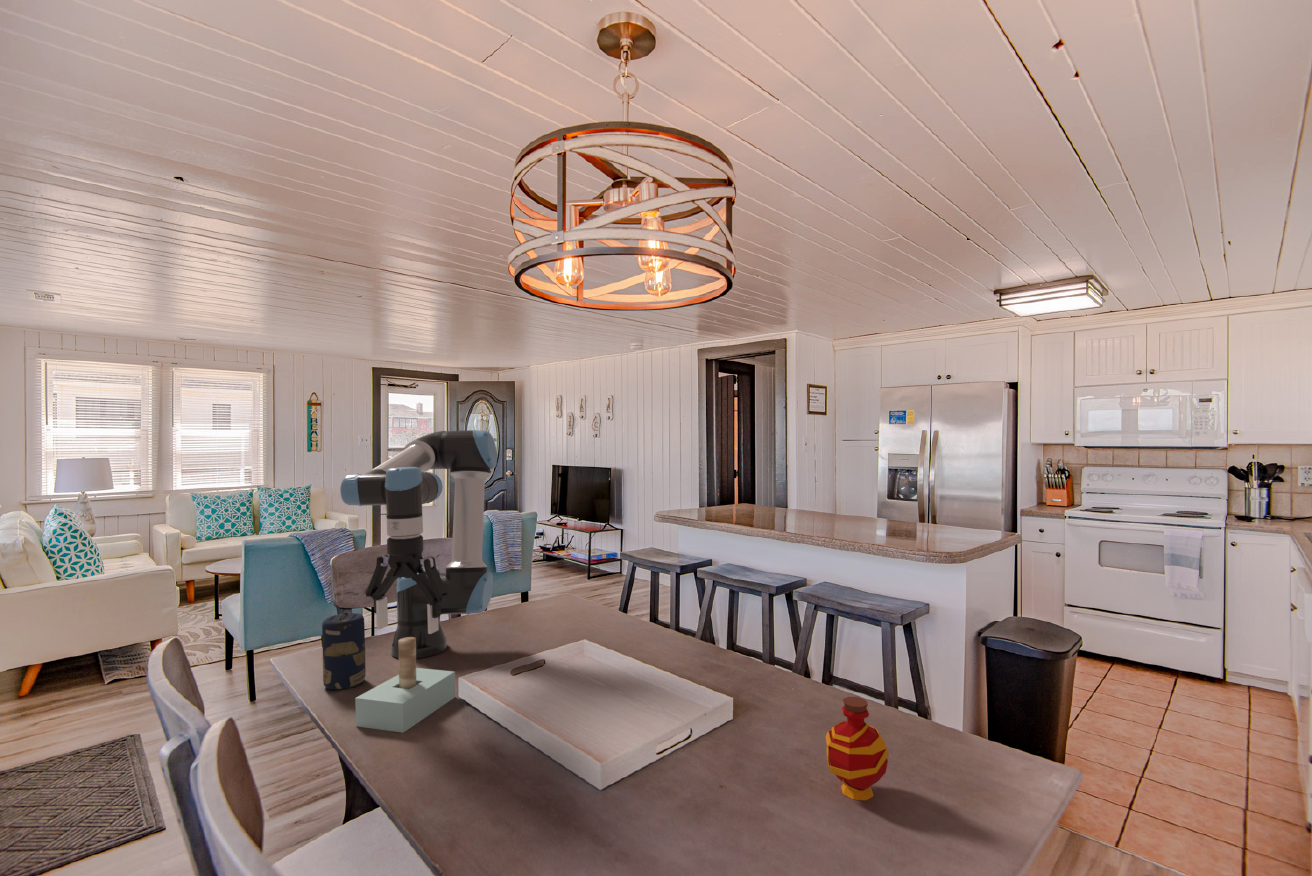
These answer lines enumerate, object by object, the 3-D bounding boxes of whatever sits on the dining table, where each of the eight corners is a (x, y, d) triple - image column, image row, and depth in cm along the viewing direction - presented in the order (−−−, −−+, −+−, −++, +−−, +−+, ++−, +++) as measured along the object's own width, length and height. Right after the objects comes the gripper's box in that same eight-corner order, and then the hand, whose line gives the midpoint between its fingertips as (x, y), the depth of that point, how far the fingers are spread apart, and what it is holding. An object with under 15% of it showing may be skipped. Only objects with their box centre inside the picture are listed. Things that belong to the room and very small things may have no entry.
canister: (373, 677, 156) (372, 607, 156) (351, 692, 146) (350, 618, 146) (338, 677, 156) (337, 607, 157) (314, 692, 147) (313, 618, 147)
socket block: (412, 692, 146) (411, 667, 146) (455, 697, 142) (454, 671, 142) (355, 726, 128) (355, 698, 128) (403, 732, 125) (402, 703, 125)
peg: (406, 706, 138) (405, 636, 138) (420, 708, 137) (419, 637, 137) (395, 713, 134) (394, 641, 134) (409, 715, 133) (408, 642, 133)
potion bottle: (883, 817, 94) (880, 720, 94) (817, 797, 99) (815, 706, 100) (896, 784, 103) (894, 696, 103) (835, 768, 108) (833, 684, 108)
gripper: (347, 537, 136) (349, 631, 136) (442, 540, 129) (444, 639, 129) (371, 531, 143) (373, 620, 143) (463, 534, 136) (465, 628, 136)
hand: (407, 629), depth 136 cm, fingers open, 13 cm apart
